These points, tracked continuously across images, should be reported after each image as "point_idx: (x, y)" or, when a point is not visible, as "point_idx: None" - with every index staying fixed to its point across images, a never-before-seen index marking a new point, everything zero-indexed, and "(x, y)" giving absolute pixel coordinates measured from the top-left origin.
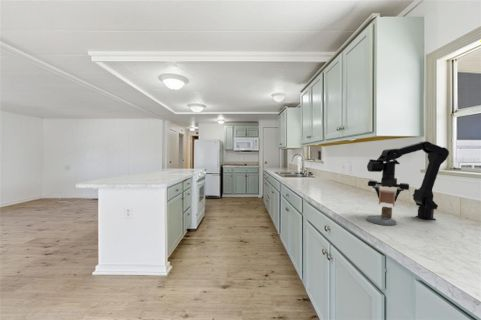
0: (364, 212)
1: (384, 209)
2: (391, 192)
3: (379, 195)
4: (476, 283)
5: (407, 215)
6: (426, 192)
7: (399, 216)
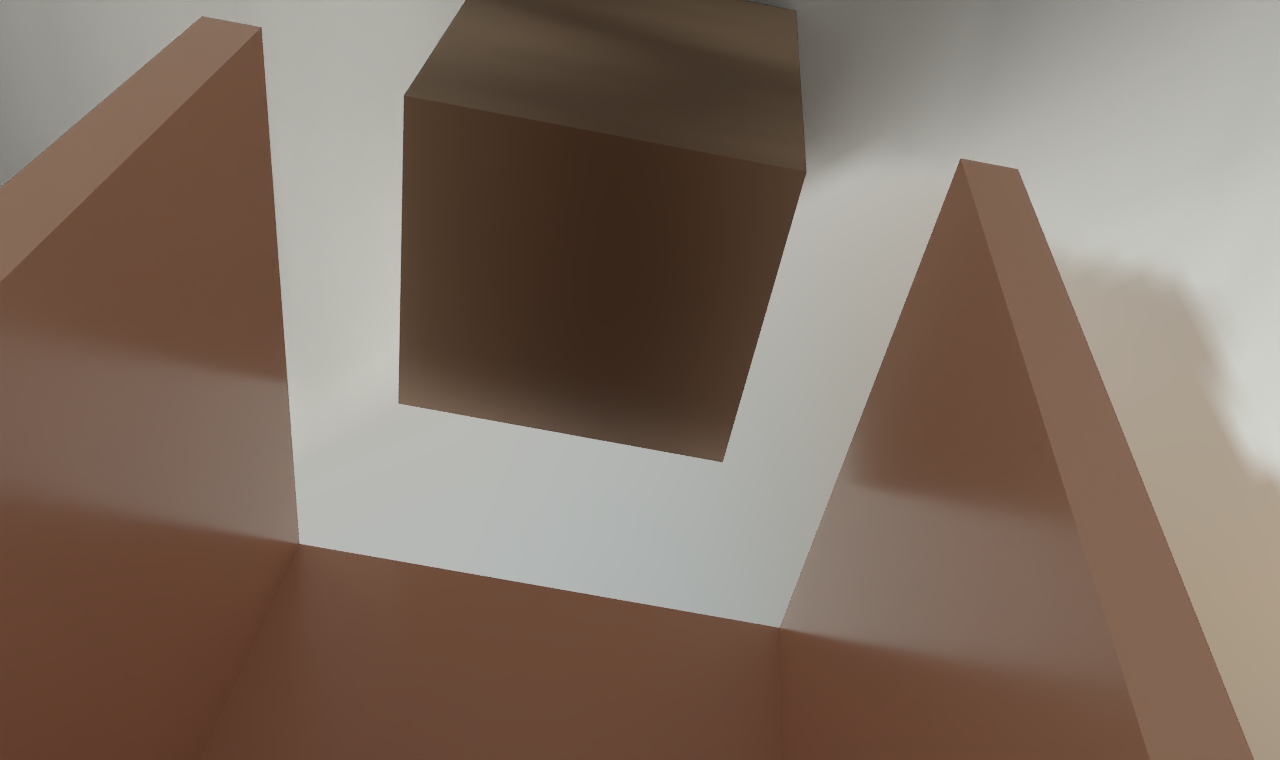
0: (1239, 350)
1: (696, 125)
2: None
3: (1171, 622)
4: None
5: None
6: None
7: (298, 365)
